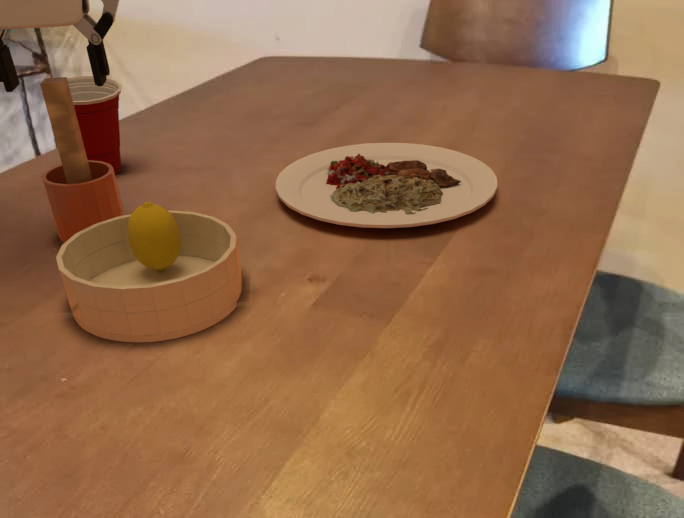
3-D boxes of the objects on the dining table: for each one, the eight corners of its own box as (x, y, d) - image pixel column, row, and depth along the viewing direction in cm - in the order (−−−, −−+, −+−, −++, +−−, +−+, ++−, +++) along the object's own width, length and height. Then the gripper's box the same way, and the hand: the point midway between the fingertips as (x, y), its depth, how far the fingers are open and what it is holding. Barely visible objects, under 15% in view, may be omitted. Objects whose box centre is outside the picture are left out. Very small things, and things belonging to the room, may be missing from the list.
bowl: (55, 348, 72) (37, 293, 68) (90, 264, 85) (76, 215, 81) (240, 336, 72) (232, 282, 68) (244, 255, 86) (238, 206, 82)
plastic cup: (86, 191, 103) (62, 101, 95) (52, 172, 109) (27, 85, 101) (152, 171, 108) (135, 84, 100) (116, 154, 114) (97, 70, 106)
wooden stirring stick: (72, 240, 89) (28, 86, 78) (79, 225, 92) (37, 76, 81) (108, 238, 89) (69, 84, 78) (113, 223, 92) (77, 74, 81)
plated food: (455, 256, 84) (458, 228, 82) (235, 218, 94) (232, 192, 92) (520, 169, 105) (524, 145, 102) (333, 146, 115) (332, 123, 112)
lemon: (171, 286, 79) (156, 215, 74) (127, 279, 80) (110, 209, 75) (194, 264, 83) (182, 194, 78) (152, 258, 84) (137, 189, 79)
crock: (54, 252, 88) (34, 187, 83) (68, 224, 94) (50, 162, 89) (122, 248, 88) (106, 183, 83) (132, 221, 94) (117, 158, 89)
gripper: (102, -118, 72) (140, 72, 83) (-75, -109, 71) (-12, 82, 82) (88, -114, 66) (131, 90, 77) (-105, -103, 65) (-33, 100, 77)
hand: (57, 85), depth 80 cm, fingers open, 9 cm apart
